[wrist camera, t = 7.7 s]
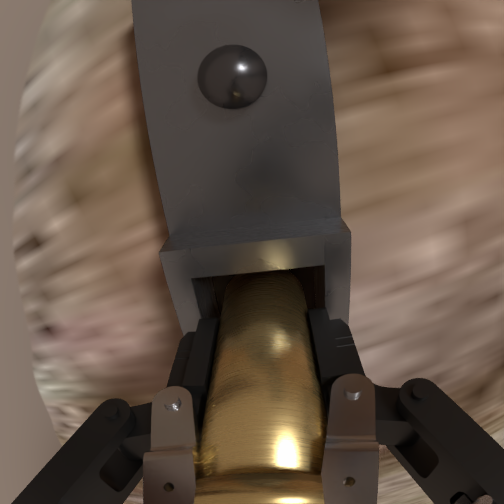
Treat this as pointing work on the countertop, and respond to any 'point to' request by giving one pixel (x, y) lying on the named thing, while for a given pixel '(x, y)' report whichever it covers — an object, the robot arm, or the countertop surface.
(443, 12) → the countertop surface
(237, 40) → the link plates
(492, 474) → the robot arm
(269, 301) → the link pin
